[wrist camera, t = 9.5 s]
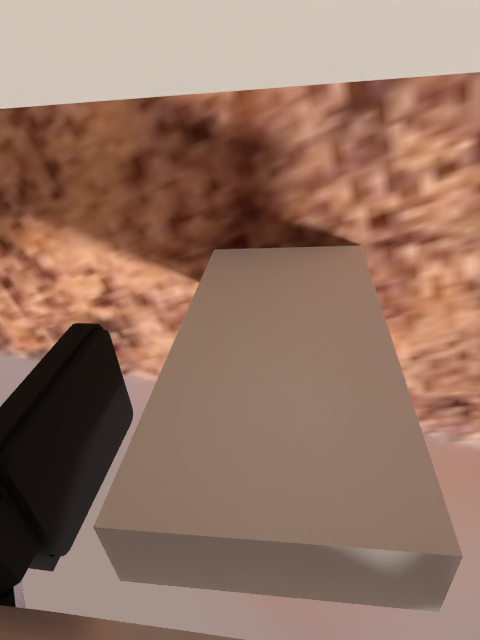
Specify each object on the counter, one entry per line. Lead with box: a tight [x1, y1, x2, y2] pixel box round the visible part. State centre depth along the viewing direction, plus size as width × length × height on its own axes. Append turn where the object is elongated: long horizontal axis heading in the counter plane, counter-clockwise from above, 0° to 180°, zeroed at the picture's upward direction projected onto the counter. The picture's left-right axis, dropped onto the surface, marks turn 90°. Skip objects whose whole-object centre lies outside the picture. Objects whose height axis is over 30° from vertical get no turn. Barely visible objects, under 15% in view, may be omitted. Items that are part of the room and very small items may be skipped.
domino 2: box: [94, 245, 462, 612], centre depth 10 cm, size 2×5×10 cm, turn 94°
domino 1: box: [0, 0, 480, 109], centre depth 6 cm, size 2×5×10 cm, turn 94°
